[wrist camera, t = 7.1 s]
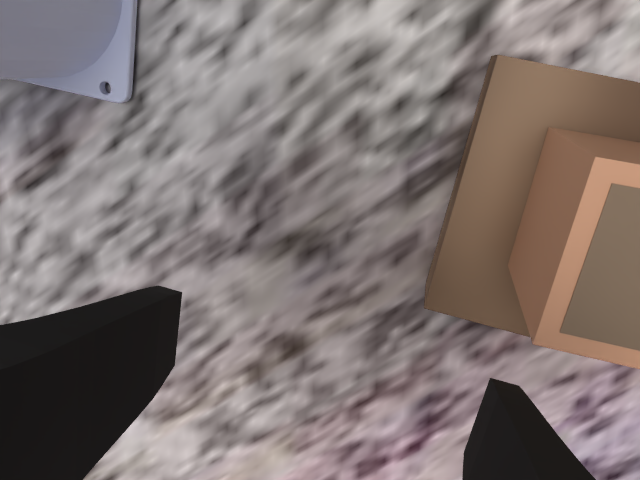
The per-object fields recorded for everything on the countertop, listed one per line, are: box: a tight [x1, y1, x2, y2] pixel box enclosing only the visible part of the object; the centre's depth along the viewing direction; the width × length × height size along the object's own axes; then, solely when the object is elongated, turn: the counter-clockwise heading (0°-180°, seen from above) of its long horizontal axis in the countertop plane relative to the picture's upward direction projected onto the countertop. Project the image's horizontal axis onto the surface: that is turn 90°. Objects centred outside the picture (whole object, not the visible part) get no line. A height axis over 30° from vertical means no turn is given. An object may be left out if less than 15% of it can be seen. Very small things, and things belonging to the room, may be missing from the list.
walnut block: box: [424, 55, 640, 337], centre depth 19 cm, size 9×9×3 cm
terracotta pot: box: [508, 127, 640, 369], centre depth 15 cm, size 5×5×6 cm
